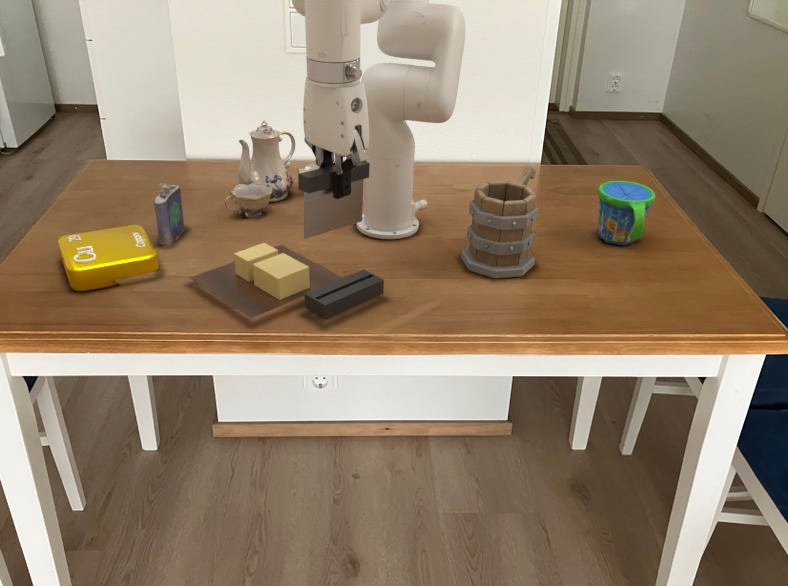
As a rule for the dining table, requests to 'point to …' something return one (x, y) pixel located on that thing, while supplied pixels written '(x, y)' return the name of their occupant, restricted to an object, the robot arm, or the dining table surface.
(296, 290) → the butter
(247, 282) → the cutting board
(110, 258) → the element tile
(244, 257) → the butter slice
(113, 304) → the dining table surface
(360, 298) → the scraper stand
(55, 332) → the dining table surface
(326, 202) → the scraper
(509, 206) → the tankard
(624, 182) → the snack cup
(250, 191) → the chinaware
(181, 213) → the flask
